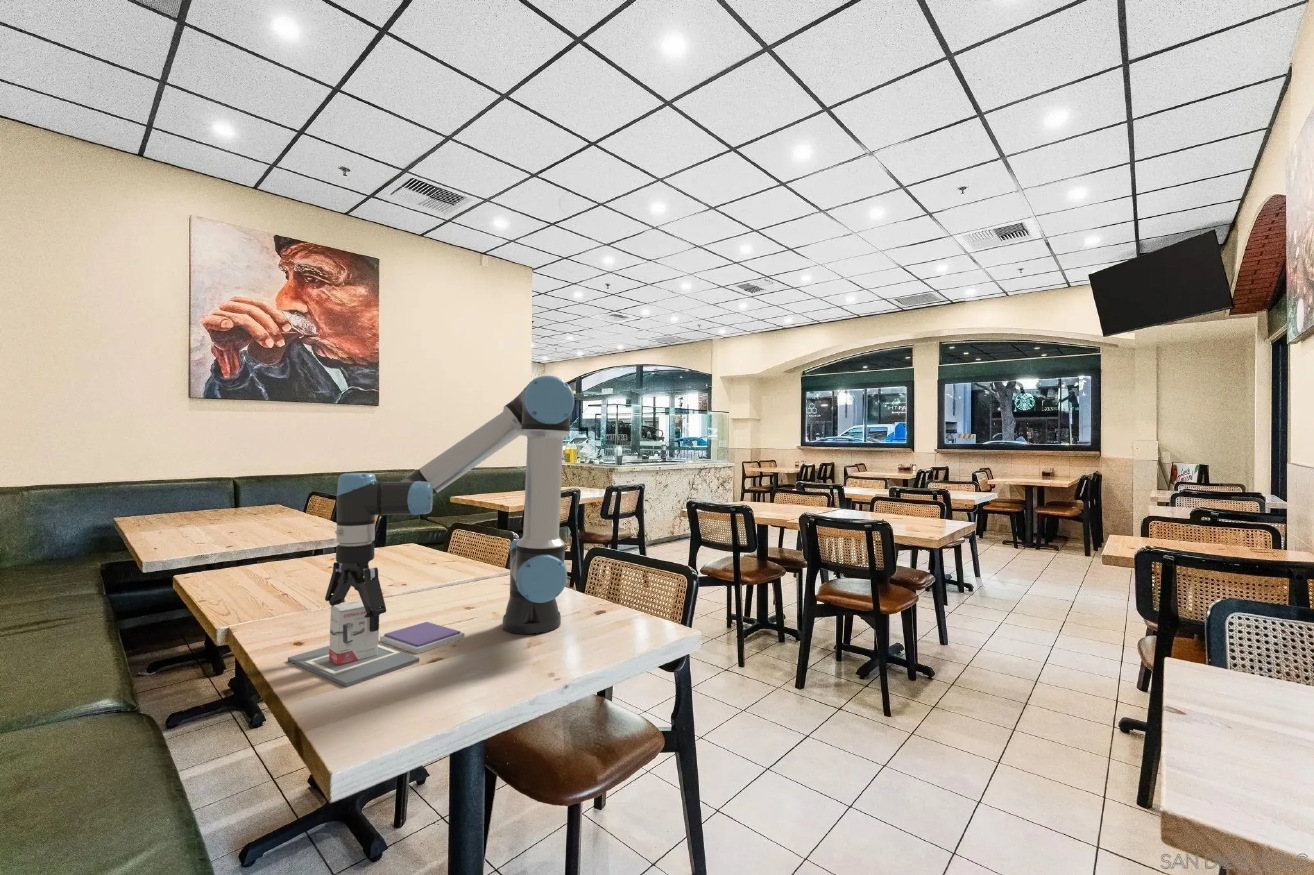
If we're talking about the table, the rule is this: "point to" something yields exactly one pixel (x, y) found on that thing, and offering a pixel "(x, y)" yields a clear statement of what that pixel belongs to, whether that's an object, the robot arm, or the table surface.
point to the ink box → (348, 633)
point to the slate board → (353, 664)
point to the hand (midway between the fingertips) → (354, 639)
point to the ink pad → (421, 637)
